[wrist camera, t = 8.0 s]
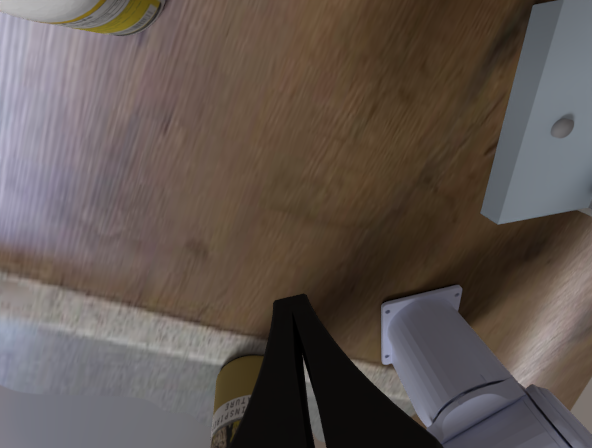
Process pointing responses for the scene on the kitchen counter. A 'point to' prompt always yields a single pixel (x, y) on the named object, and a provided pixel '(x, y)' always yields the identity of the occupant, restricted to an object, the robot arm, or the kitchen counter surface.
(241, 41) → the kitchen counter surface
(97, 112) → the kitchen counter surface
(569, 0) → the door
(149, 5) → the supplement bottle
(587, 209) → the side panel
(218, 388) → the paper tube
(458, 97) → the kitchen counter surface
